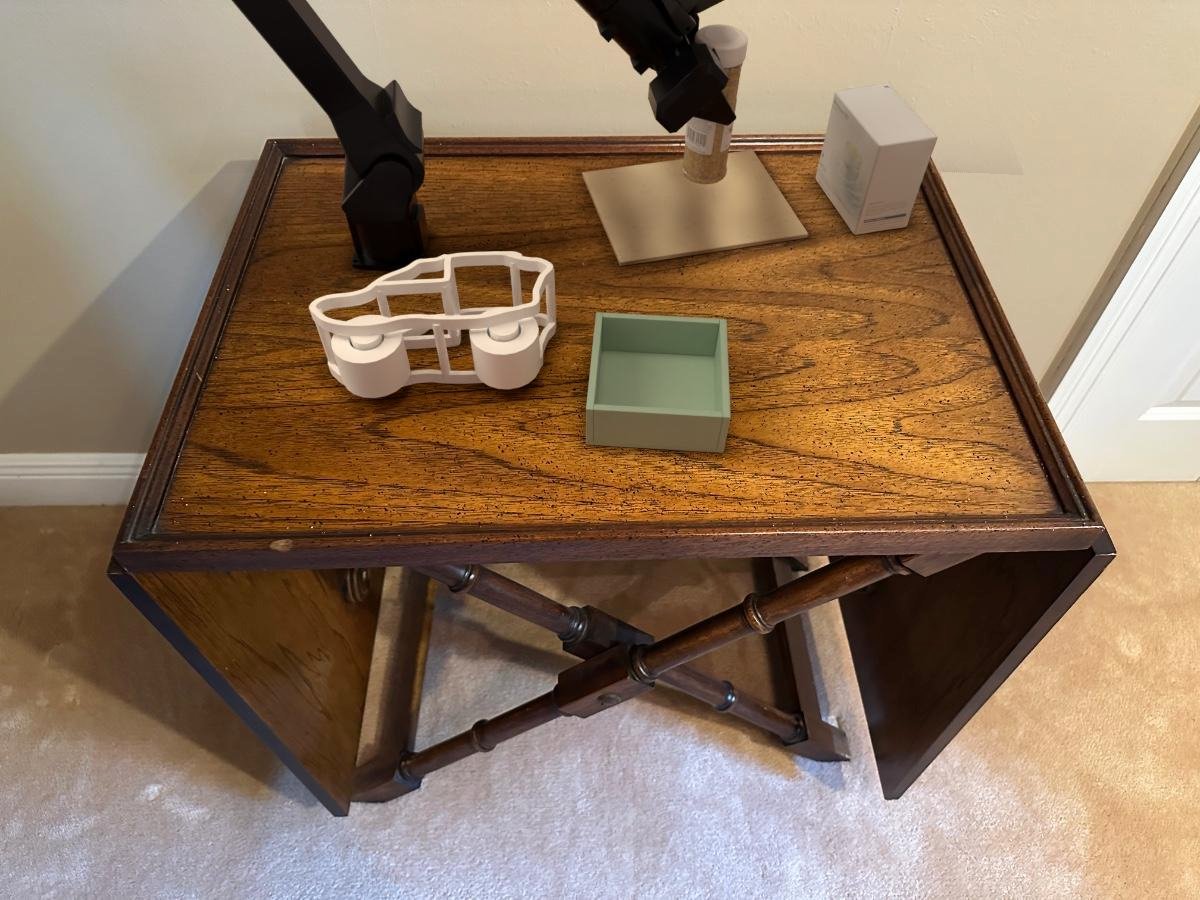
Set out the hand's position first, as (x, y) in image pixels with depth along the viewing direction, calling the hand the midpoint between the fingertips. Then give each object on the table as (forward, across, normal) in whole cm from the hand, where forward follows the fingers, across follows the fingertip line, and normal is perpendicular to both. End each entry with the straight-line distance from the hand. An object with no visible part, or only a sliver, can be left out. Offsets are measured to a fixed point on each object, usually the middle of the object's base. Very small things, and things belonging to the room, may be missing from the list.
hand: (726, 108), depth 76 cm
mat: (+8, +3, +10) cm, 13 cm away
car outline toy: (-10, -16, +29) cm, 35 cm away
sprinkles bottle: (+4, 0, +6) cm, 7 cm away
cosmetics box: (+21, +2, -3) cm, 21 cm away
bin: (+2, -23, +16) cm, 28 cm away
